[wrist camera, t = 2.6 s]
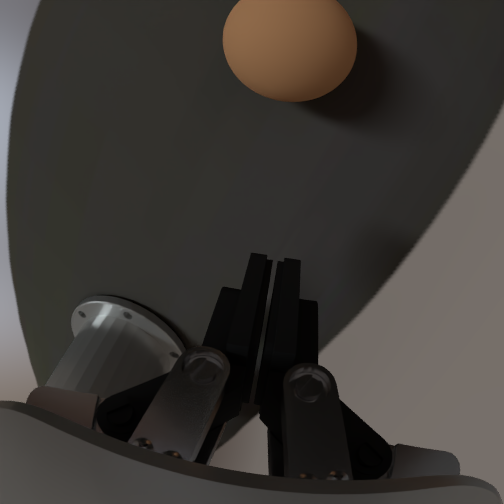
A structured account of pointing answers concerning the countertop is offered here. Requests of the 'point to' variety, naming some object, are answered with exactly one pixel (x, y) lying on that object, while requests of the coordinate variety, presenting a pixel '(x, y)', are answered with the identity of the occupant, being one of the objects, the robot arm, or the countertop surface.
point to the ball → (290, 47)
